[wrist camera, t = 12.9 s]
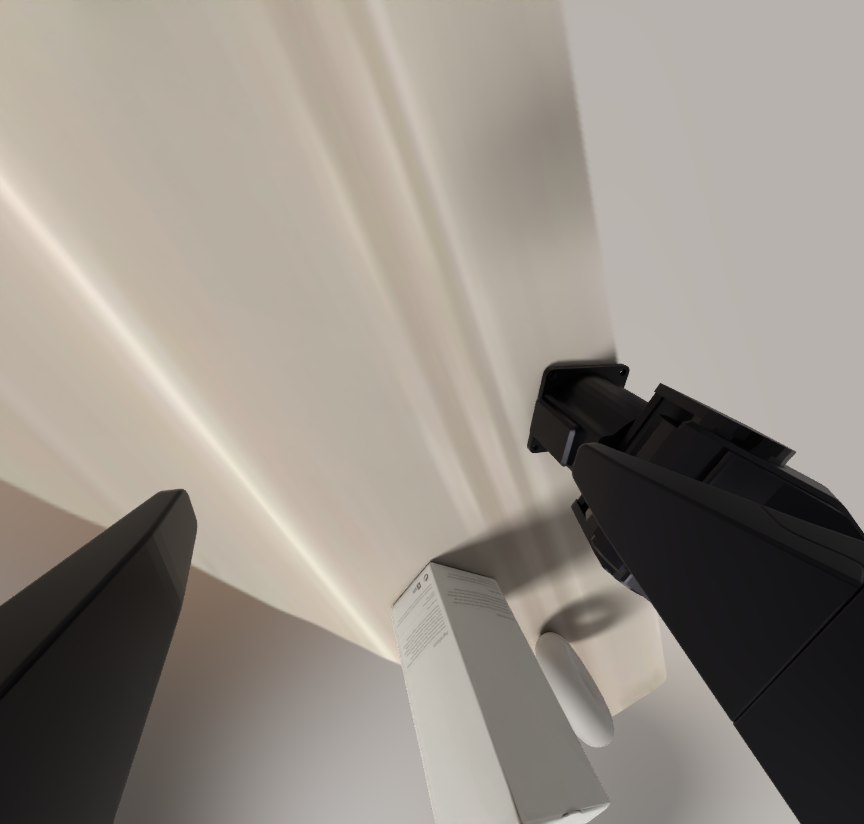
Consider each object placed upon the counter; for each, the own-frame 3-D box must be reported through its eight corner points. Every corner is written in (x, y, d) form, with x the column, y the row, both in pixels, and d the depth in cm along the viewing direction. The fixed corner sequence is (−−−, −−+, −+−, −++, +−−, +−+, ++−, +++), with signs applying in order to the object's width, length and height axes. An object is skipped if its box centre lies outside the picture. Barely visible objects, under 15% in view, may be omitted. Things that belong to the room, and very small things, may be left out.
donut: (515, 630, 39) (570, 746, 31) (542, 612, 39) (604, 724, 30) (550, 657, 44) (604, 762, 36) (573, 642, 44) (634, 744, 36)
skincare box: (387, 607, 31) (437, 893, 18) (432, 555, 30) (522, 829, 17) (458, 621, 35) (542, 865, 22) (501, 576, 34) (618, 811, 21)
